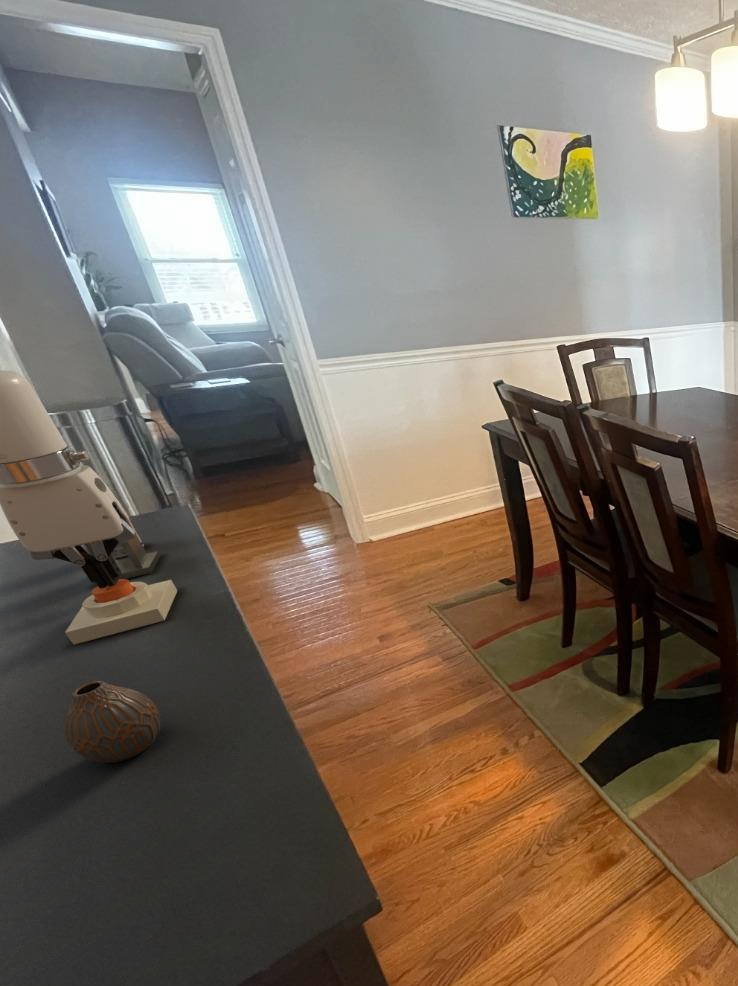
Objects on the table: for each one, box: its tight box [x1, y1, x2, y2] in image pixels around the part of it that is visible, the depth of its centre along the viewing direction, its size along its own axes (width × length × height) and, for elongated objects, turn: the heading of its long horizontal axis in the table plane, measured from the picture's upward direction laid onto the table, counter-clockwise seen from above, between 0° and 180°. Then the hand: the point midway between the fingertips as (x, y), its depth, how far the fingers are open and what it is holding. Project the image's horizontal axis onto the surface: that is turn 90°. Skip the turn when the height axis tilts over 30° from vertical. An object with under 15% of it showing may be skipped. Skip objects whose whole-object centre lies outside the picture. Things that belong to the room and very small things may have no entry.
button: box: [91, 579, 134, 603], centre depth 88 cm, size 4×4×2 cm
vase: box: [63, 680, 162, 763], centre depth 64 cm, size 7×7×9 cm
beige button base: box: [64, 579, 178, 645], centre depth 89 cm, size 10×10×4 cm
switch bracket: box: [83, 523, 161, 587], centre depth 101 cm, size 7×7×11 cm
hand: (110, 582), depth 88 cm, fingers closed
